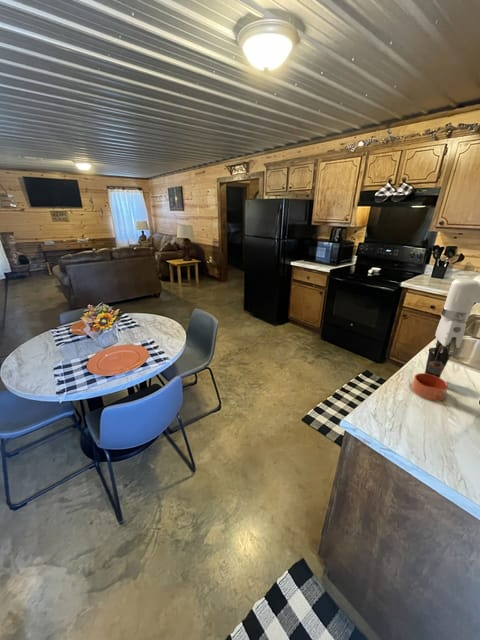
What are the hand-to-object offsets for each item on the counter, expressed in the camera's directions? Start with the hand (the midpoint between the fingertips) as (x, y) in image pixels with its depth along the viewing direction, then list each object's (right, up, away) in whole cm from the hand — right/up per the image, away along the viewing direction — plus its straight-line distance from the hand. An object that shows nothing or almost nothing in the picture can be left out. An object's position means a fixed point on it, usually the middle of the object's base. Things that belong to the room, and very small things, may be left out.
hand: (439, 359), depth 99 cm
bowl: (0, -14, +7) cm, 16 cm away
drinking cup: (+7, -11, +14) cm, 19 cm away
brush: (0, -5, +2) cm, 6 cm away
